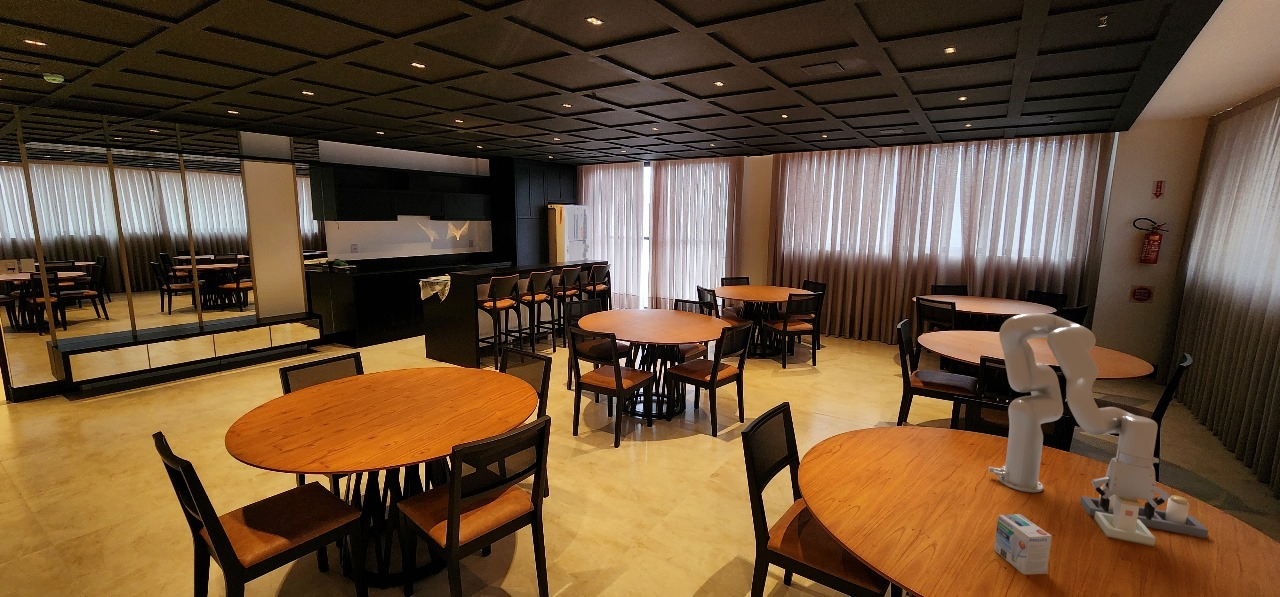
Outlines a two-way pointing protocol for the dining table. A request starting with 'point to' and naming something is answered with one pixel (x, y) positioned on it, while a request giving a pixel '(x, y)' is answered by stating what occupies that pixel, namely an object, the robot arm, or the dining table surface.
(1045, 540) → the light bulb box
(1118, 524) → the block
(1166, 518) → the post
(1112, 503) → the post
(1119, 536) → the tray
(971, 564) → the dining table surface
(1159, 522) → the holder
